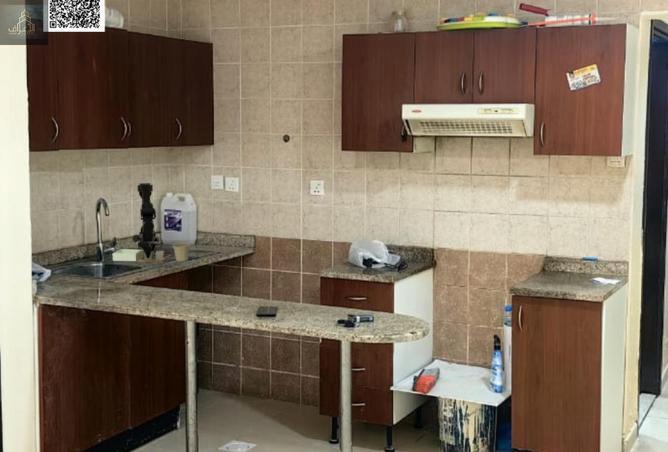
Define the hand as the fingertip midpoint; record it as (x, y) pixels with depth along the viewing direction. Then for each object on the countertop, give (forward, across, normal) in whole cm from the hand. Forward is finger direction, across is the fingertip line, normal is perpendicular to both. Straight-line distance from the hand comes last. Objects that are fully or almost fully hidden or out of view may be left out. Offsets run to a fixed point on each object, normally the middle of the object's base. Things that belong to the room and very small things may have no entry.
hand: (149, 257), depth 539 cm
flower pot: (+2, +2, +19) cm, 19 cm away
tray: (+1, 0, +3) cm, 3 cm away
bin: (+1, +1, -12) cm, 12 cm away
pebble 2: (+1, 0, +6) cm, 6 cm away
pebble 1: (+1, 0, 0) cm, 1 cm away
